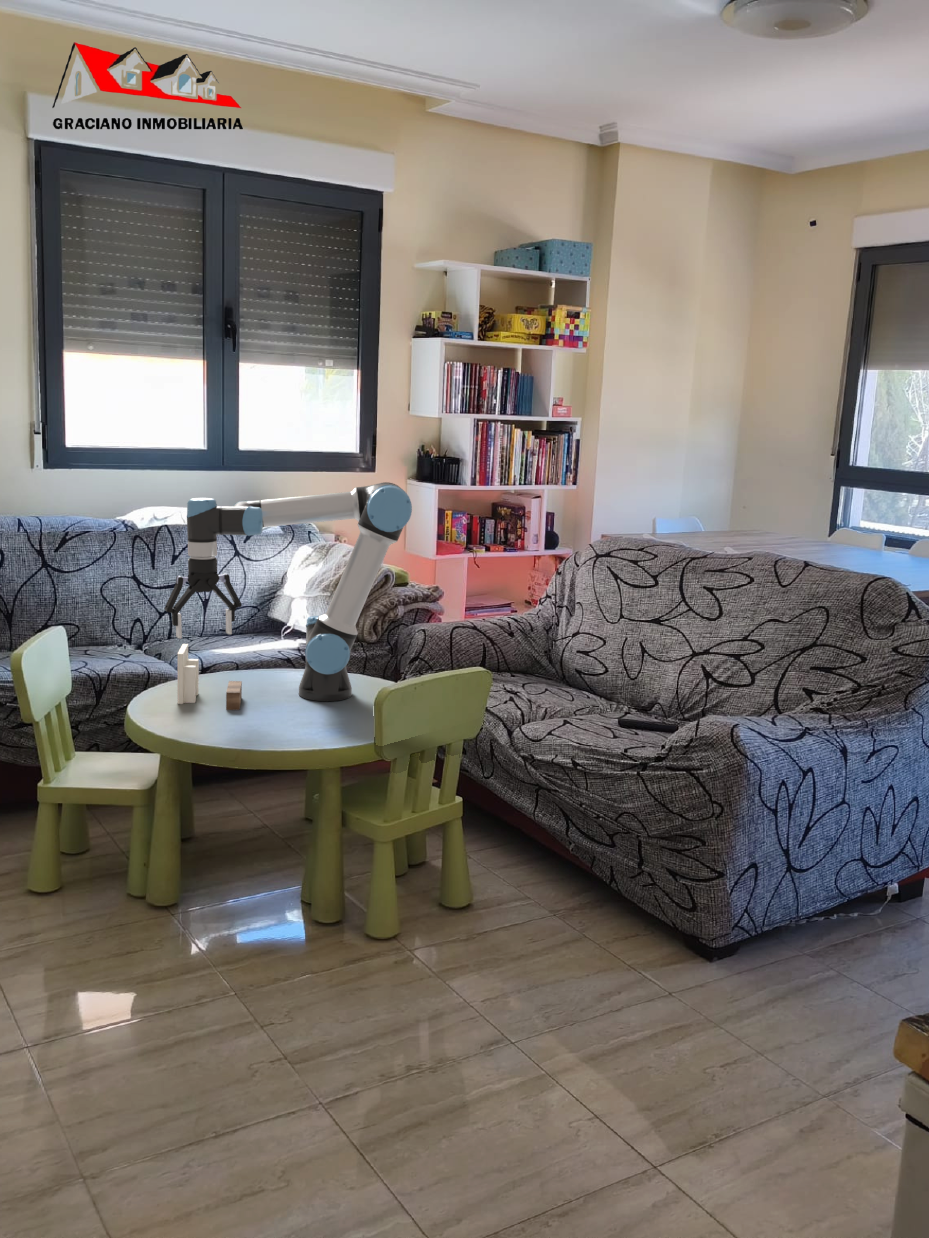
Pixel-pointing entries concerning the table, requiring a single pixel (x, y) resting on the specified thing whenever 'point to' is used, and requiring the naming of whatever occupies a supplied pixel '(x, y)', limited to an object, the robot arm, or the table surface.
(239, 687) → the brown rectangular block
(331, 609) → the robot arm
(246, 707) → the table surface
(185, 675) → the white twin-rail base
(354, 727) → the table surface
